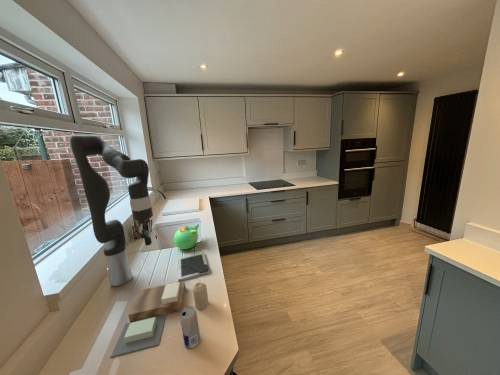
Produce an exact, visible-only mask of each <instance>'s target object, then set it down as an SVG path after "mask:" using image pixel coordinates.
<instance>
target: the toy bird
mask: <svg viewBox="0 0 500 375" xmlns="http://www.w3.org/2000/svg"><path fill="white" fill-rule="evenodd" d="M199 227H200V225H199V224H197V223H196V225H194V226H193V227H192V226H179V228H178V229H177V230H176V231H175V233H174V236H173V243H174V245H175V246H176V247H177V248H178V249H180V250H189V249H191V248H193V247H195V246H196V244H197V242H198V241H199V240H198V239H199V233H198V228H199Z"/></svg>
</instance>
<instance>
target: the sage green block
mask: <svg viewBox="0 0 500 375" xmlns="http://www.w3.org/2000/svg"><path fill="white" fill-rule="evenodd" d="M129 323H130V322H129ZM155 326H156V317H154V318H150V319H145V320H141V321H137V322H133V323H130V325H129V327H128V329H127V332H126V334H125V336H124V339H125V343H128V342H132V341H136V340H140V339H144V338H147V337H151V336H153V333H154V330H155Z"/></svg>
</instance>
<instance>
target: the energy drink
mask: <svg viewBox="0 0 500 375" xmlns="http://www.w3.org/2000/svg"><path fill="white" fill-rule="evenodd" d="M179 320H180V322H179V323H180V327H181V331H182V337H183V342H184V346H185V348H186V349H195V348H196V347H197V346H198V345H199V344H200V342H201V334H200V327H199V322H198V315H197V311H196V307H192V306H187V307H184V308H183V310H182V311H180V312H179Z"/></svg>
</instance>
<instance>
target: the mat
mask: <svg viewBox="0 0 500 375" xmlns="http://www.w3.org/2000/svg"><path fill="white" fill-rule="evenodd" d="M155 317H156V326H155V330H154V333H153V336H151V337H147V338H144V339H140V340H136V341H132V342H128V343H125V339H124V336H125V334H126V332H127V329H128V327H129V325H130V323H133V322H130V321H129V322H126V323H125V324H124V326H123V328H122V331H121V333H120V334H119V338H118V339H117V341H116V345H115V346H114V348H113V350H112V352H111V355H110V358H114V357H115V358H116V357H118V356H122V354H123V355H127V354H130V353H129V352H131V353H134V352H137V350H138V351H141V349H142V350H144V349H145V350H146V349H149V348H153V347H157V346H159V345H160V341H161V337H162V333H163V331H164V330H163V329H164V324H165V320H166V317H167V315H166V314H164V315H160V316H155ZM151 318H154V317H151ZM147 319H150V318H147ZM142 320H145V319H142ZM138 321H141V320H138ZM134 322H137V321H134ZM133 351H134V352H133ZM126 353H127V354H126Z"/></svg>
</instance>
